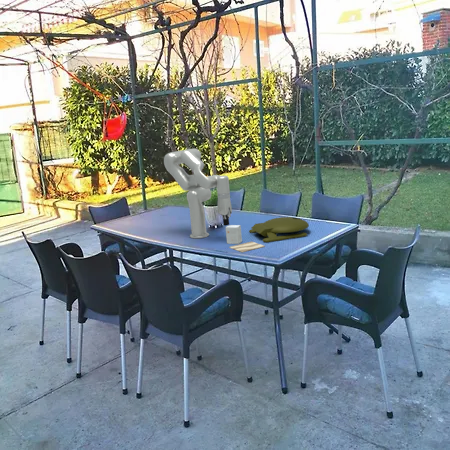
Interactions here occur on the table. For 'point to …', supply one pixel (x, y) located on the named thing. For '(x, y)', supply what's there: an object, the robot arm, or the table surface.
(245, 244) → the board
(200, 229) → the robot arm
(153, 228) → the table surface
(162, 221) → the table surface
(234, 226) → the small box
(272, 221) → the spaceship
